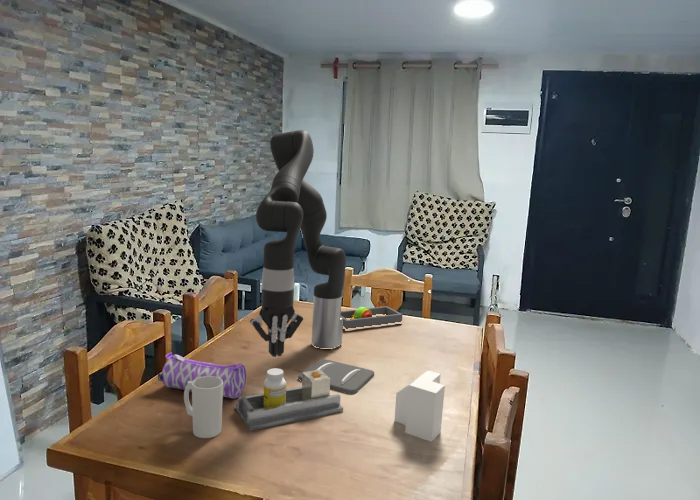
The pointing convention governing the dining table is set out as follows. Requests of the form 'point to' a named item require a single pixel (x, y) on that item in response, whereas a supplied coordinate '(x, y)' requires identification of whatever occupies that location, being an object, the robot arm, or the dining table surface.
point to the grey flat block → (342, 375)
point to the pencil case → (202, 374)
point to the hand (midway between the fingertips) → (276, 355)
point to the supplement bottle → (274, 388)
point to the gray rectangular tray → (390, 317)
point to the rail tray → (292, 403)
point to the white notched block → (421, 406)
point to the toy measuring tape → (362, 313)
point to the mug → (205, 405)
